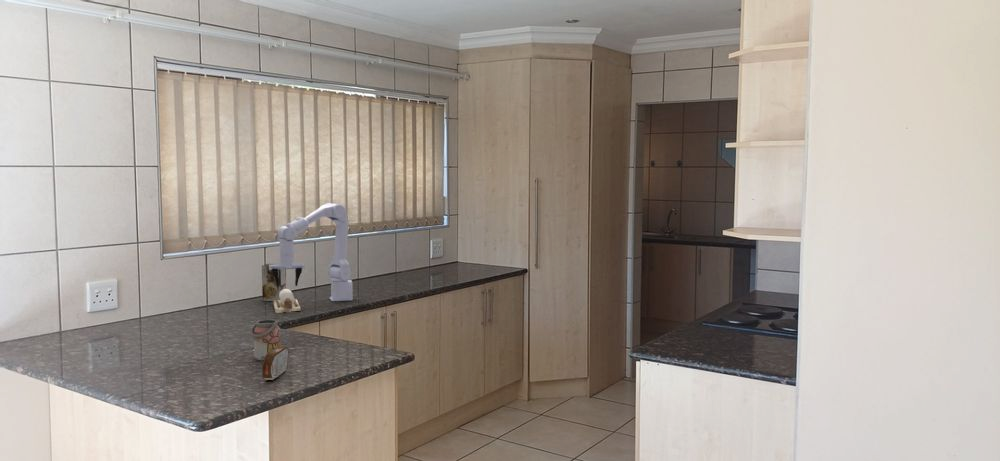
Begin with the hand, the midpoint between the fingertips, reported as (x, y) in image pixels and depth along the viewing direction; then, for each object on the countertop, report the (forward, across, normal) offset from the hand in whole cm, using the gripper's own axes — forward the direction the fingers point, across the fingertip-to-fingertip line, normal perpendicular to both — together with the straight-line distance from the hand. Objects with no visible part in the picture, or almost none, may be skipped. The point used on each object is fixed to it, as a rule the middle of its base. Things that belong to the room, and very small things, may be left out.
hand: (287, 286), depth 313 cm
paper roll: (+8, 0, 0) cm, 8 cm away
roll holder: (+9, 0, 0) cm, 9 cm away
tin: (+10, -10, -101) cm, 102 cm away
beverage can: (+10, -12, -80) cm, 82 cm away
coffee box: (+10, -4, +19) cm, 21 cm away
